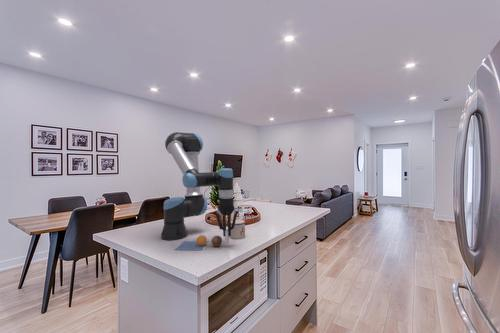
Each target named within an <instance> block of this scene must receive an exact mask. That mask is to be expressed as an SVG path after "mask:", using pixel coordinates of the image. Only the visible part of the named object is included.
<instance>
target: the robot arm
mask: <svg viewBox="0 0 500 333" xmlns="http://www.w3.org/2000/svg"><path fill="white" fill-rule="evenodd" d="M164 145H165V146H164V147H165V150H166V151H167V153H168V154H170V155H171V156H172V158H173V160H174V162H175V164H176V165H177V166H178V168H179V170H180V172H181V173H182V174H183V175H182V185H183V186H184V187H185V188H186V194H185V195H184V197H183V196H178V197H177V196H176V197H171V198H168V199H166V200H164V202H163V227H162V230H161V233H160V234H161V235H160V236H161V237H160V238H161V239H162V240H164V241H176V240H180V239H185V238H186V237H187V236H188V230H187V228H186V224H185V218H191V217H199V216H201V215H204V214H205V213H206V211H207V208H208V201H207V197H205V196H204V194H203V193H202V192H201V187H213V186H214V187H216V186H217V187H218V197H219V199H218V209H217V210H215V211H214V212H213V213H214V214H215V216H216V220H217V223H218V228H219V230H222V231H223V232H222V235H223V236H222V237H225V238H224V242H225V243H224V244H229V243H230V238H231V237H230V236H231V230H232V229H234V226H235V222H236V217H238V214H239V212H240V211H239V210H237V209H236V208H235V206H234V203H235V202H234V198H233V197H234V173H233V172H234V170H233V169H232V168H227V167H226V168H219V169H218V171H209V172H208V171H207V172H200V168H199V155H200V154H201V152H202V150H203V147H204V142H203V138H202V137H201V136H200V134H198V133H193V132H192V133H191V132H180V131H179V132H178V131H177V132H173V133H170V134H169V135H168V136H167V137H166V139H165V142H164ZM220 214H221V215H222V218H221V215H220ZM232 214H233V218H231V217H232ZM231 219H232V220H233V222H232V227H231V221H232V220H231Z"/></svg>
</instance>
